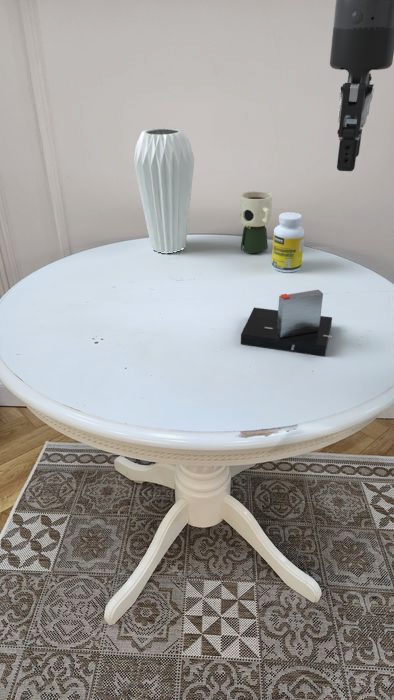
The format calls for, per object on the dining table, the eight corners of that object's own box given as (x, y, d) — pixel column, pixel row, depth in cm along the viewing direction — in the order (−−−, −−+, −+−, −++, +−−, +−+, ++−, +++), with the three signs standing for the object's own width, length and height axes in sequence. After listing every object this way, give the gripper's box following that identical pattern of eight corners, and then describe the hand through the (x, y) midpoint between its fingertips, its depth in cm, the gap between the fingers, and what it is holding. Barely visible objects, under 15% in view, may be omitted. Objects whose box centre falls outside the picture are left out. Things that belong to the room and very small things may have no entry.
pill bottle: (265, 267, 117) (268, 215, 111) (284, 259, 120) (288, 208, 114) (288, 276, 113) (292, 222, 106) (307, 267, 116) (312, 215, 110)
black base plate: (334, 327, 94) (336, 316, 93) (326, 365, 84) (328, 354, 83) (253, 316, 98) (253, 306, 97) (236, 352, 88) (236, 340, 86)
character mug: (229, 245, 128) (230, 191, 121) (254, 240, 131) (257, 187, 124) (253, 261, 120) (255, 203, 113) (279, 255, 122) (283, 199, 115)
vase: (129, 250, 127) (118, 133, 113) (167, 234, 135) (161, 123, 121) (170, 263, 119) (163, 139, 105) (207, 246, 128) (206, 129, 114)
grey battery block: (314, 326, 90) (318, 287, 86) (318, 331, 89) (323, 292, 85) (276, 333, 88) (279, 294, 85) (280, 338, 87) (283, 298, 83)
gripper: (398, 24, 57) (374, 177, 66) (398, 22, 69) (378, 153, 77) (327, 25, 59) (313, 174, 68) (339, 23, 71) (326, 151, 79)
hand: (348, 163), depth 72 cm, fingers open, 8 cm apart
